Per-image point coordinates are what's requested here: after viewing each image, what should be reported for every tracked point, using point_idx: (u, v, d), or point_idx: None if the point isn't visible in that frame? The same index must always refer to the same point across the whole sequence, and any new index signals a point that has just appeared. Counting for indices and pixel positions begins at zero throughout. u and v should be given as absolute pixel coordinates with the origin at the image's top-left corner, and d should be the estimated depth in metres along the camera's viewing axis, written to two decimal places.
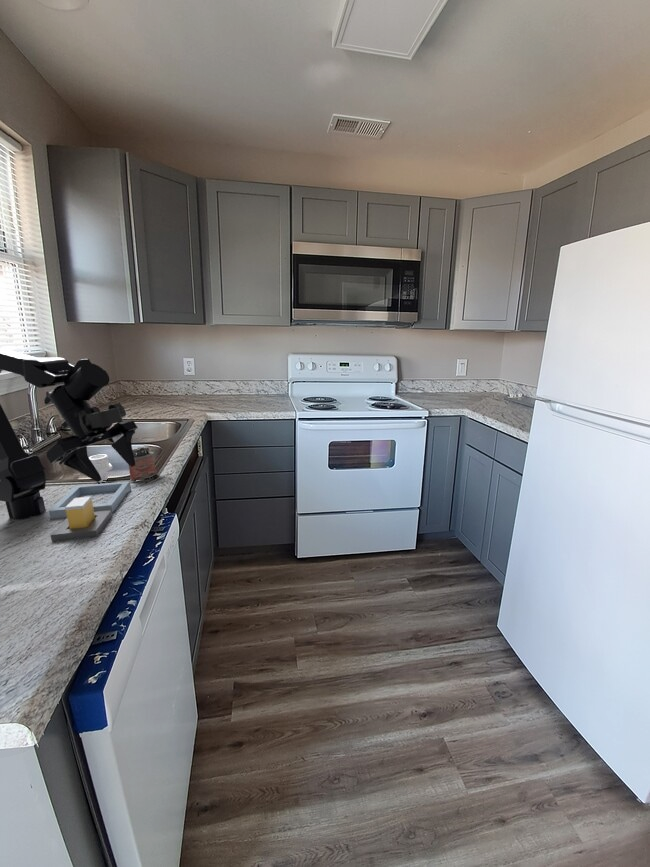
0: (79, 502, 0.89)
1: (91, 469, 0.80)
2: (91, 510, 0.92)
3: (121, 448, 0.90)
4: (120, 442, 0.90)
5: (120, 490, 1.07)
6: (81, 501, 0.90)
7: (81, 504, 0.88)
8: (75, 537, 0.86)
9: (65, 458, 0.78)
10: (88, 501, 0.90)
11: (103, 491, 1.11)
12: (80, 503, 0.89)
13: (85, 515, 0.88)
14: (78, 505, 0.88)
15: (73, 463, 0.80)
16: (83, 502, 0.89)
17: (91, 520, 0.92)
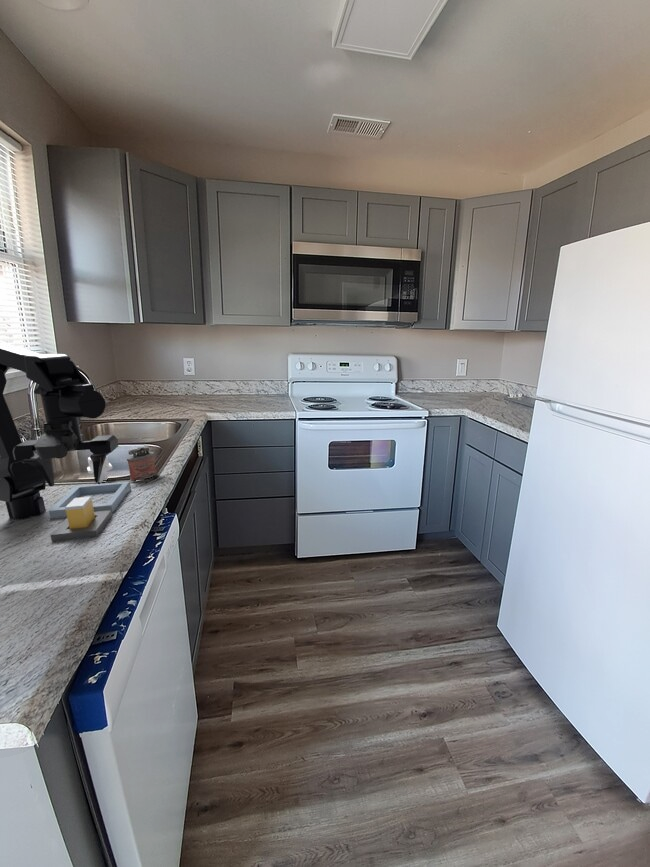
0: (79, 502, 0.89)
1: (43, 475, 0.86)
2: (91, 510, 0.92)
3: None
4: None
5: (120, 490, 1.07)
6: (81, 501, 0.90)
7: (81, 504, 0.88)
8: (75, 537, 0.86)
9: None
10: (88, 501, 0.90)
11: (103, 491, 1.11)
12: (80, 503, 0.89)
13: (85, 515, 0.88)
14: (78, 505, 0.88)
15: None
16: (83, 502, 0.89)
17: (91, 520, 0.92)
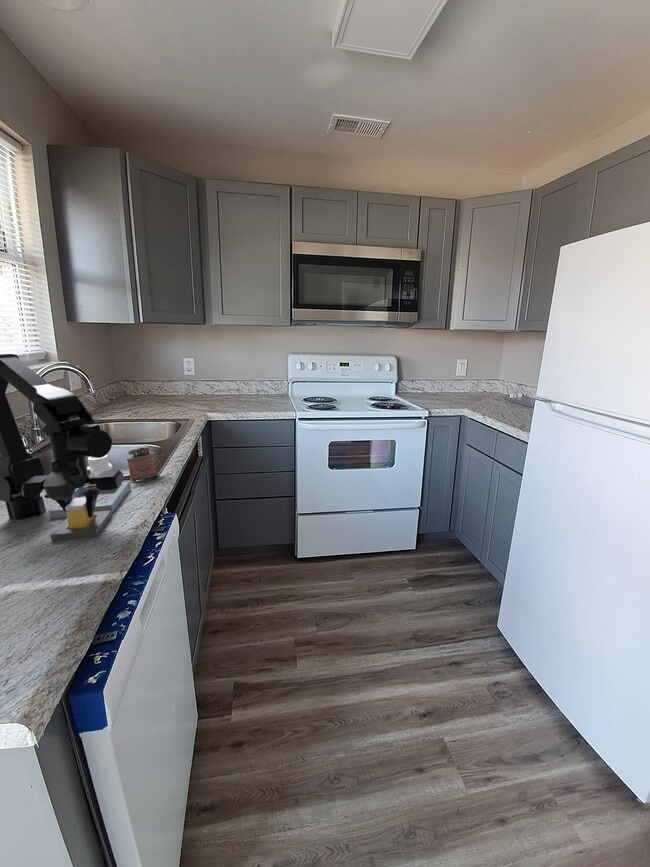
0: (79, 502, 0.89)
1: (64, 509, 0.89)
2: None
3: None
4: None
5: (120, 490, 1.07)
6: (81, 501, 0.90)
7: (81, 504, 0.88)
8: (75, 537, 0.86)
9: None
10: None
11: (103, 491, 1.11)
12: (80, 503, 0.89)
13: (85, 515, 0.88)
14: (78, 505, 0.88)
15: None
16: (83, 502, 0.89)
17: (91, 520, 0.92)
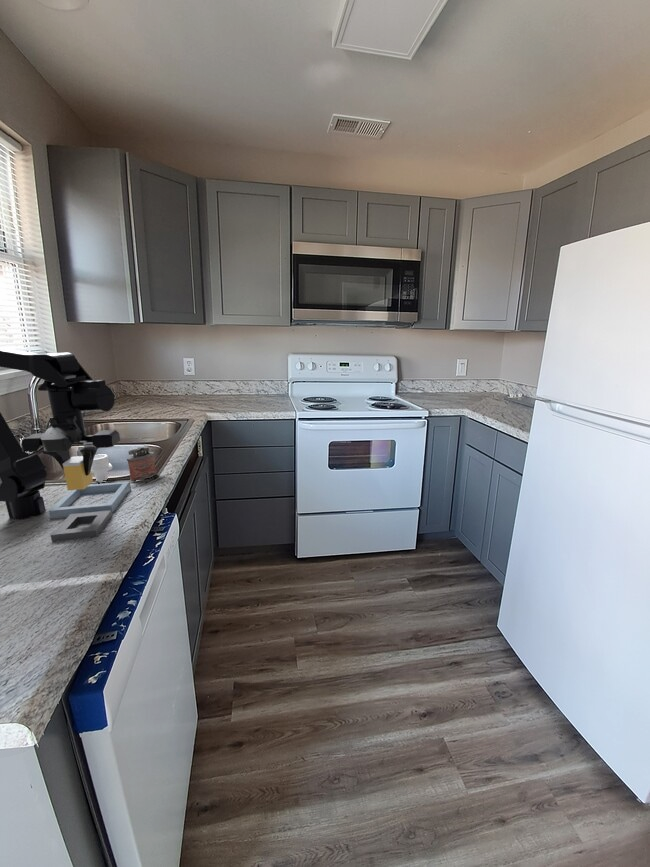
0: (76, 459, 0.92)
1: (62, 466, 0.91)
2: None
3: None
4: None
5: (120, 490, 1.07)
6: (78, 459, 0.92)
7: (78, 461, 0.91)
8: (75, 537, 0.86)
9: None
10: None
11: (103, 491, 1.11)
12: (77, 460, 0.91)
13: (82, 472, 0.91)
14: (75, 462, 0.90)
15: None
16: (80, 460, 0.92)
17: (88, 478, 0.94)
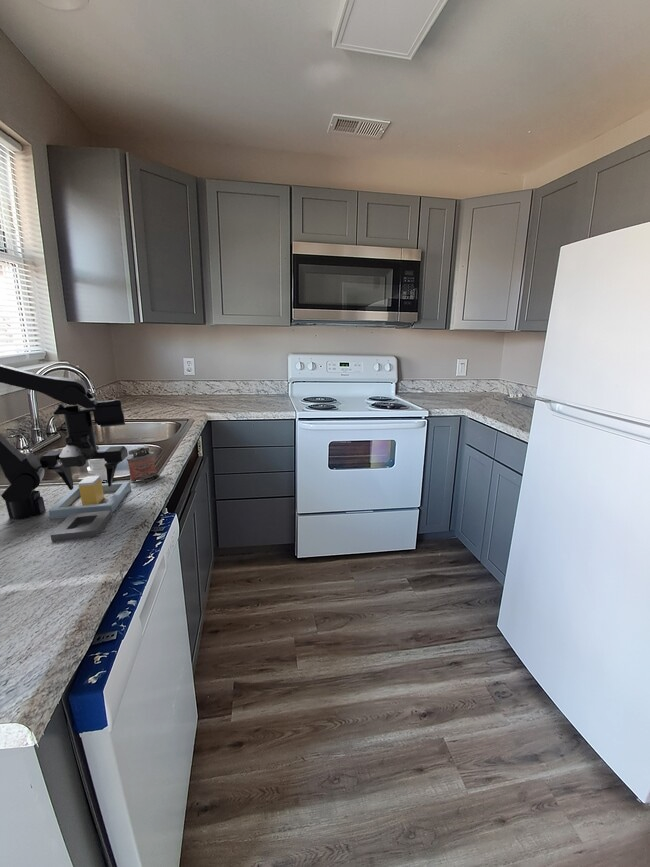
0: (90, 479, 1.03)
1: (65, 480, 1.01)
2: (100, 487, 1.06)
3: None
4: None
5: (120, 490, 1.07)
6: (92, 479, 1.03)
7: (92, 481, 1.02)
8: (75, 537, 0.86)
9: None
10: (98, 479, 1.04)
11: (103, 491, 1.11)
12: (91, 480, 1.02)
13: (95, 490, 1.02)
14: (89, 482, 1.01)
15: None
16: (93, 480, 1.03)
17: (100, 496, 1.05)
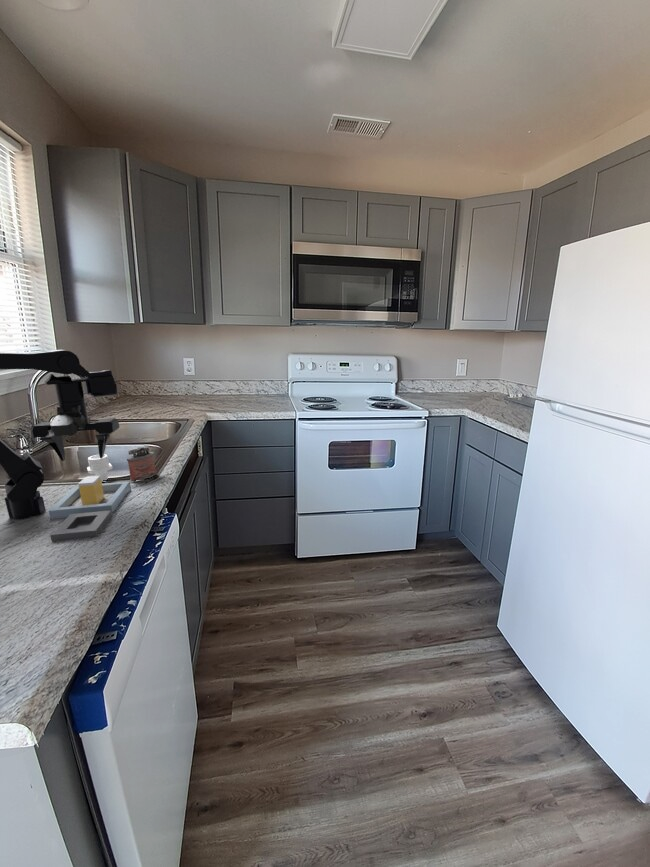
0: (90, 479, 1.03)
1: (56, 451, 1.02)
2: (100, 487, 1.06)
3: None
4: None
5: (120, 490, 1.07)
6: (92, 479, 1.03)
7: (92, 481, 1.02)
8: (75, 537, 0.86)
9: None
10: (98, 479, 1.04)
11: (103, 491, 1.11)
12: (91, 480, 1.02)
13: (95, 490, 1.02)
14: (89, 482, 1.01)
15: None
16: (93, 480, 1.03)
17: (100, 496, 1.05)
